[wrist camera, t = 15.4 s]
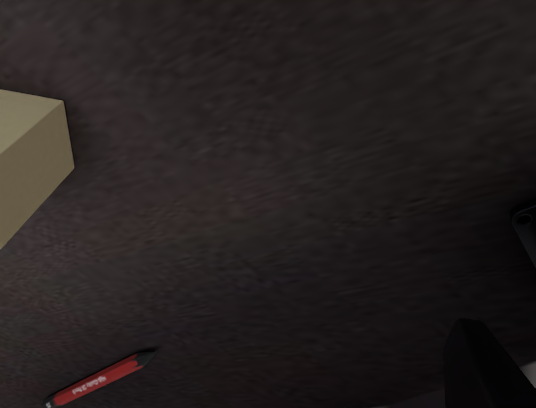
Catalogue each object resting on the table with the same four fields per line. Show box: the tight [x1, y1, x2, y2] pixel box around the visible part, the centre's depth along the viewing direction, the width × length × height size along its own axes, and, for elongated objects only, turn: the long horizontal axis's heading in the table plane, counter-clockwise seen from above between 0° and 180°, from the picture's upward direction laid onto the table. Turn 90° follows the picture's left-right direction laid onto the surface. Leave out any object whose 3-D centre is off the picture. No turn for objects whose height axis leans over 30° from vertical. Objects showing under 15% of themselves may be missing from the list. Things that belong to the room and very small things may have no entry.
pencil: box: [42, 351, 158, 408], centre depth 34 cm, size 1×14×1 cm, turn 132°
